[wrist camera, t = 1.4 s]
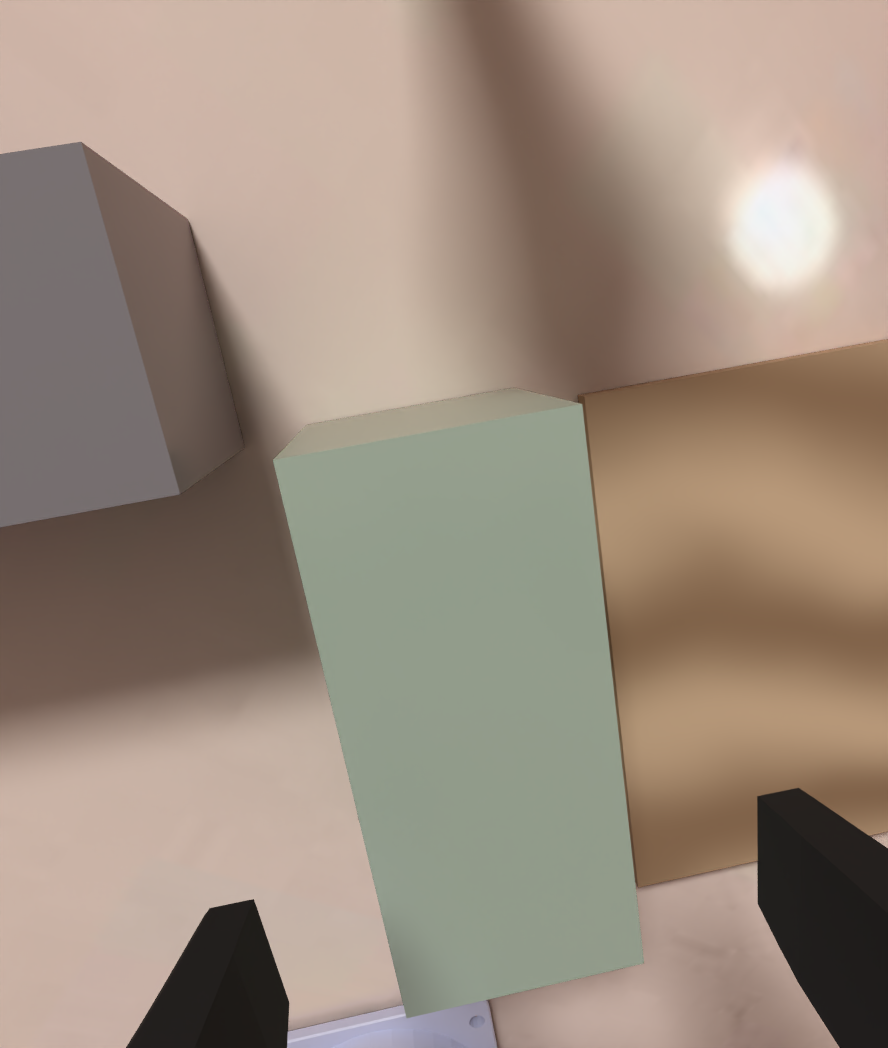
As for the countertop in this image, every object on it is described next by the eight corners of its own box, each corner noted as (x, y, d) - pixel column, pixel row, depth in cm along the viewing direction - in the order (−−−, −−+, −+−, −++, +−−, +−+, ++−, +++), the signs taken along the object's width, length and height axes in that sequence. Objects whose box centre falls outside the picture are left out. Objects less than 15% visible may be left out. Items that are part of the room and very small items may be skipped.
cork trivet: (884, 816, 23) (898, 829, 22) (631, 873, 22) (638, 887, 22) (890, 338, 18) (907, 338, 18) (577, 395, 18) (584, 396, 17)
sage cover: (570, 796, 21) (643, 963, 15) (397, 833, 21) (406, 1018, 15) (514, 387, 18) (582, 404, 12) (306, 424, 17) (272, 460, 12)
